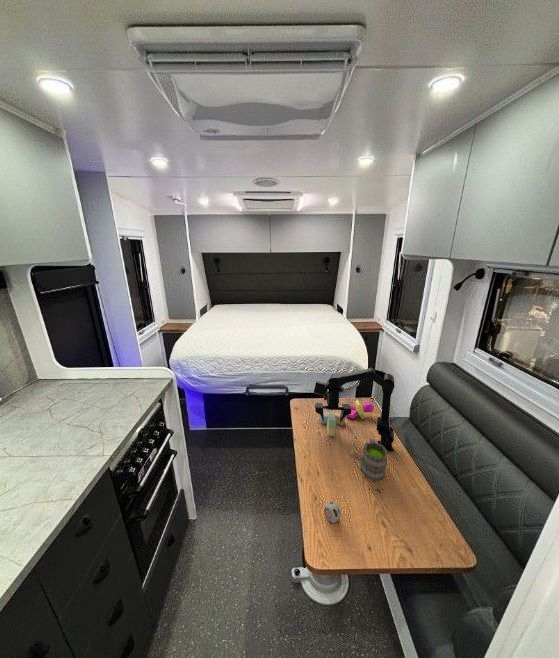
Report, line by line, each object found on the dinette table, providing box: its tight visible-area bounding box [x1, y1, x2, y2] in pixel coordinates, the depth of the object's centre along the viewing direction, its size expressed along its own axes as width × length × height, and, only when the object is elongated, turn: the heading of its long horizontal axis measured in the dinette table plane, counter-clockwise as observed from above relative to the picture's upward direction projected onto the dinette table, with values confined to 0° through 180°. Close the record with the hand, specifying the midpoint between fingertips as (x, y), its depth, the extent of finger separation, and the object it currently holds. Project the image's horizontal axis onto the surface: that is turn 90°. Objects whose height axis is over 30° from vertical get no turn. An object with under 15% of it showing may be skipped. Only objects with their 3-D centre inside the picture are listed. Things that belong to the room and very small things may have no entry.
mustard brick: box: [326, 421, 336, 437], centre depth 142 cm, size 6×4×5 cm, turn 177°
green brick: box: [327, 412, 337, 429], centre depth 140 cm, size 6×4×5 cm, turn 177°
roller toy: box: [323, 501, 342, 524], centre depth 97 cm, size 4×6×6 cm
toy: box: [345, 399, 375, 420], centre depth 156 cm, size 10×18×10 cm, turn 88°
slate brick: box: [319, 411, 331, 425], centre depth 151 cm, size 6×4×5 cm, turn 97°
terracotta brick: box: [333, 411, 346, 426], centre depth 150 cm, size 6×4×5 cm, turn 57°
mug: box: [359, 437, 390, 482], centre depth 118 cm, size 16×11×12 cm
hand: (331, 421), depth 141 cm, fingers open, 9 cm apart
